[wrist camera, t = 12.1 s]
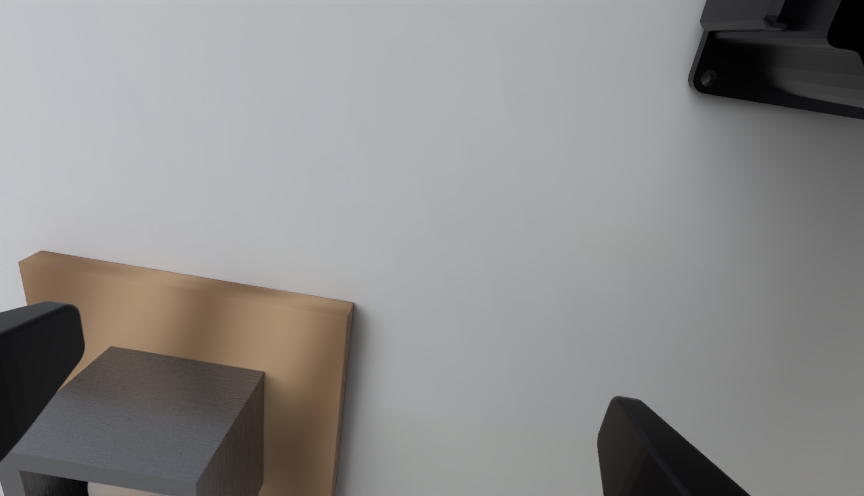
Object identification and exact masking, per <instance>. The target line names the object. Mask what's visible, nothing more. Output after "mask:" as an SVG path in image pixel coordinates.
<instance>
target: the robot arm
mask: <svg viewBox="0 0 864 496" xmlns="http://www.w3.org/2000/svg"><path fill="white" fill-rule="evenodd" d="M700 23H701V26H702V28H703V30H704V32H703V35H702V38H701V41H700V44H699V47H698V50H697V53H696V56H695V59H694V62H693V64H692V67H691V70H690V73H689V78H688V82H689V86H690V87H691V88H692V90H694V91H696V92H699V93H704V94H710V95H716V96H722V97H728V98H734V99H741V100H747V101H753V102H759V103H765V104H771V105H778V106H784V107H790V108H796V109H802V110H808V111H814V112H821V113H827V114H833V115H839V116H845V117H851V118H857V119H864V0H707V1H706V4H705V7H704V10H703V13H702V16H701V19H700ZM707 70H709V71H710V72H711V79H710V81H709V82H708V83H706V84H705V85H703V84H702V83H701V76H702V74H703V73H704V72H706V71H707ZM84 351H85V340H84V334H83V328H82V321H81V315H80V311H79V309H78V308H77V307H76V306H75V305H73V304H69V303H64V302H58V301H44V302H40V303H36V304H32V305H28V306H24V307H20V308H16V309H12V310H9V311H5V312H1V313H0V462H1V461H2V460H3V459H4V458H5V457H6V456H7V455H8V453H9V452H10V451H11V450H12V449H13V448H14V447H15V445H16V444H17V443H18V442H19V441H20V440H21V438H22V437H23V436H24V435H25V433H26V432H27V431H28V429H29V428H30V427H31V426H32V424H33V423H34V422H35V420H36V419H37V418H38V416H39V415H40V414H41V412H42V411H43V410H44V409H45V407H46V406H47V405H48V403H49V402H50V401H51V399H52V398H53V397H54V395H55V394H56V393H57V391H58V390H59V389H60V387H61V386H62V385H63V383H64V382H65V381H66V379H67V378H68V377H69V375H70V374H71V373H72V371H73V370H74V369H75V367H76V366H77V365H78V363H79V362H80V361H81V359H82V357H83V355H84ZM597 448H598V456H599V464H600V472H601V479H602V487H603V495H604V496H750V495H749V494H748V493H747V492H746V491H745V490H744V489H742V488H741V487H740V486H739V485H738V484H737V483H735V482H734V481H733V480H732V479H731V478H730V477H729V476H727V475H726V474H725V473H724V472H723V471H722V470H721V469H719V468H718V467H717V466H716V465H715V464H714V463H712V462H711V461H710V460H709V459H708V458H707V457H706V456H704V455H703V454H702V453H701V452H700V451H699V450H697V449H696V448H695V447H694V446H693V445H692V444H691V443H689V442H688V441H687V440H686V439H685V438H684V437H683V436H681V435H680V434H679V433H678V432H677V431H676V430H674V429H673V428H672V427H671V426H670V425H669V424H668V423H666V422H665V421H664V420H663V419H662V418H661V417H660V416H658V415H657V414H656V413H655V412H654V411H653V410H651V409H650V408H649V407H648V406H647V405H646V404H645V403H643V402H642V401H641V400H639V399H635V398H629V397H623V396H616V397H614V398H613V399H612V400H611V402H610V404H609V406H608V409H607V412H606V414H605V417H604V420H603V422H602V425H601V428H600V430H599V433H598V440H597Z"/></svg>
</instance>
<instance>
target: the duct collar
mask: <svg viewBox="0 0 864 496" xmlns="http://www.w3.org/2000/svg"><path fill="white" fill-rule="evenodd" d="M264 385H265V372H264V371H258V370H252V369H246V368H240V367H234V366H228V365H222V364H216V363H210V362H204V361H198V360H192V359H186V358H180V357H174V356H168V355H162V354H156V353H150V352H144V351H138V350H132V349H126V348H120V347H114V346H110V347H109V348H108V349H107V350H105V351H104V352H103V353H102V354H101V355H100V356H98V357H97V358H96V359H95V360H94V361H93V362H91V363H90V364H89V365H88V366H87V367H86V368H84V369H83V370H82V371H81V372H80V373H79V374H77V375H76V376H75V377H74V378H73V379H72V380H70V381H69V382H68V383H67V384H66V385H65V386H63V387H62V388H61V389H60V390H59V391H58V392H57V393H56V394H55V395H54V397H53V398H52V399H51V401H50V402H49V403H48V405H47V406H46V407H45V409H44V410H43V411H42V412H41V414H40V415H39V416H38V418H37V419H36V420H35V422H34V423H33V424H32V426H31V427H30V428H29V429H28V431H27V432H26V433H25V435H24V436H23V437H22V438H21V440H20V441H19V442H18V443H17V444H16V445H15V447H14V448H13V449H12V450H11V451H10V452H9V453H8V455H7V456H6V457H5V458H4V459H3V460H2V461H1V462H0V482H1V485H2V489H3V492H4V496H89V494H88V483H89V482H93V483H99V484H105V485H110V486H116V487H122V488H128V489H134V490H140V491H146V492H152V493H158V494H164V495H170V496H258V494H259V492H260V490H261V488H262V485H263V476H264Z"/></svg>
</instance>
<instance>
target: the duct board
mask: <svg viewBox="0 0 864 496" xmlns="http://www.w3.org/2000/svg"><path fill="white" fill-rule="evenodd" d="M18 263H19V268H20V273H21V277H22V282H23V287H24V291H25V296H26V301H27V306H28V305H32V304H36V303H40V302H44V301H58V302H64V303H69V304H73V305H75V306H76V307H77V308H78V309H79V311H80V315H81V321H82V328H83V334H84V340H85V351H84V355H83V357H82V359H81V361H80V362H79V363H78V365H77V366H76V367H75V369H74V370H73V371H72V373H71V374H70V375H69V377H68V378H67V379H66V381H65V382H64V383H63V385H62V386H61V387H60V389H61V388H62V387H63V386H65V385H66V384H67V383H68V382H69V381H70V380H72V379H73V378H74V377H75V376H76V375H77V374H79V373H80V372H81V371H82V370H83V369H84V368H86V367H87V366H88V365H89V364H90V363H91V362H93V361H94V360H95V359H96V358H97V357H98V356H100V355H101V354H102V353H103V352H104V351H105V350H107V349H108V348H109V347H110V346H114V347H120V348H126V349H132V350H138V351H144V352H150V353H156V354H162V355H168V356H174V357H180V358H186V359H192V360H198V361H204V362H210V363H216V364H222V365H228V366H234V367H240V368H246V369H252V370H258V371H264V372H265V385H264V476H263V485H262V488H261V490H260V492H259V494H258V496H335V490H336V480H337V469H338V459H339V449H340V438H341V428H342V418H343V407H344V397H345V386H346V376H347V366H348V355H349V345H350V335H351V324H352V314H353V304H354V303H351V302H345V301H339V300H333V299H327V298H321V297H315V296H309V295H304V294H298V293H292V292H286V291H280V290H274V289H268V288H262V287H256V286H250V285H244V284H238V283H232V282H226V281H220V280H214V279H208V278H202V277H196V276H190V275H184V274H178V273H172V272H166V271H160V270H154V269H148V268H142V267H136V266H130V265H124V264H118V263H112V262H106V261H100V260H94V259H88V258H82V257H76V256H70V255H64V254H58V253H52V252H46V251H40V252H38V253H36V254H34V255H32V256H30V257H28V258H26V259H24V260H21V261H19V262H18ZM60 389H59V390H60ZM59 390H58V391H59ZM58 391H57V392H58ZM88 494H89V496H170V495H164V494H158V493H152V492H146V491H140V490H134V489H128V488H122V487H116V486H110V485H105V484H99V483H93V482H89V483H88Z"/></svg>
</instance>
